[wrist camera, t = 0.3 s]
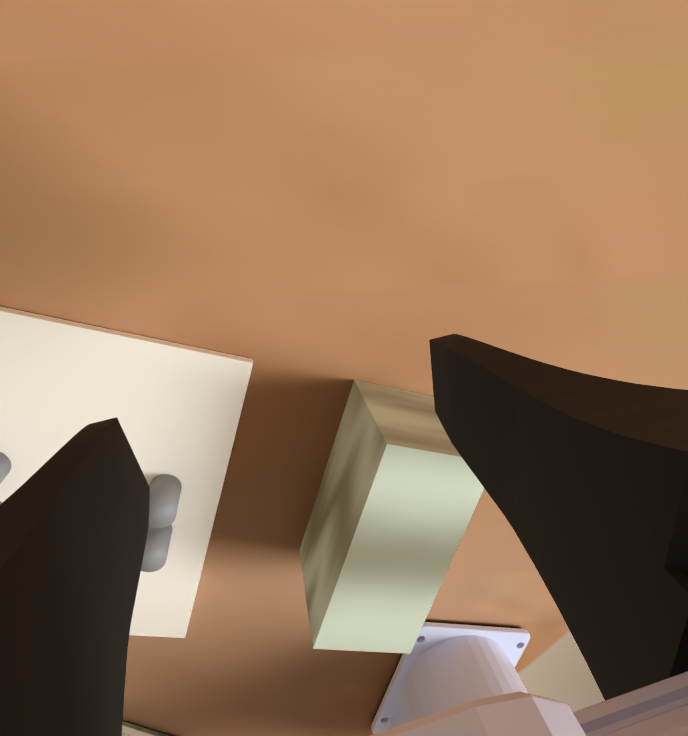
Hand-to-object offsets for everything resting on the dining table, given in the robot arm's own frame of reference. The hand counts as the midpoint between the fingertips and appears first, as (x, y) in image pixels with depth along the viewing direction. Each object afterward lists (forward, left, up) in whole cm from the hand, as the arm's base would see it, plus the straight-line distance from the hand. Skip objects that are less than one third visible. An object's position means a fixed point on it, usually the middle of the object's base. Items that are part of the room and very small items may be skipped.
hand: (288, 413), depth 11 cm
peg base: (-11, +6, -10) cm, 16 cm away
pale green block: (-8, -7, -11) cm, 15 cm away
